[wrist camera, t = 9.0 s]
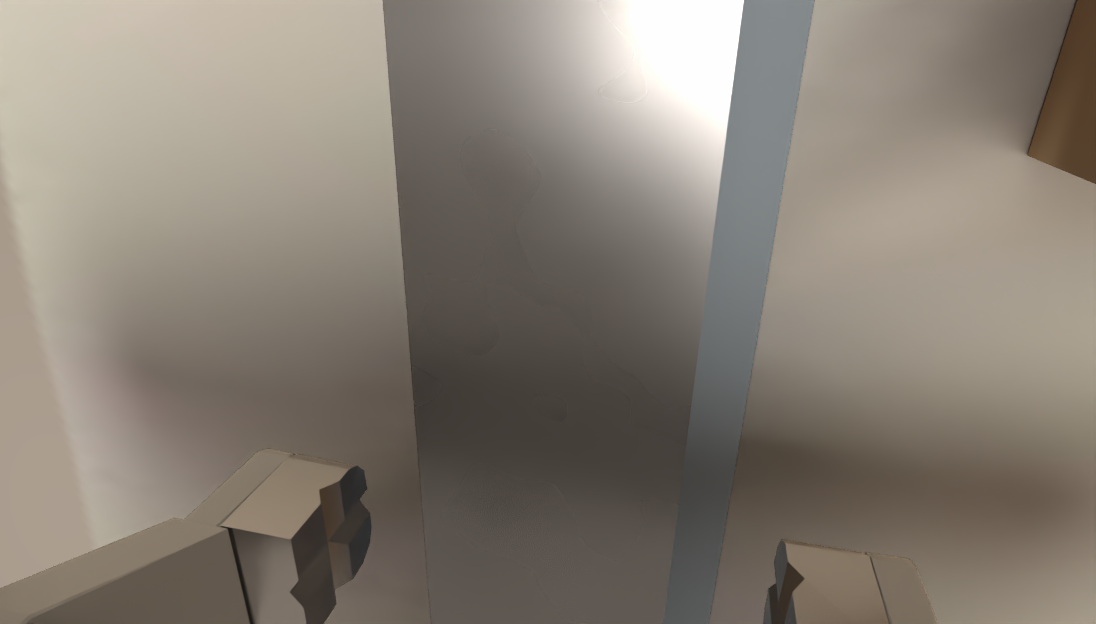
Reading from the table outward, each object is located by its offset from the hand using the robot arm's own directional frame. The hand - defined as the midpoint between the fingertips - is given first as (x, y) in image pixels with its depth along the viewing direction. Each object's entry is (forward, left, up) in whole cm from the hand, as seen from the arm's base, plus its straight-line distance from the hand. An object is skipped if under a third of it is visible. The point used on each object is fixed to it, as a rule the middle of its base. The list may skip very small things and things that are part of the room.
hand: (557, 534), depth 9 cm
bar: (0, 0, -2) cm, 2 cm away
